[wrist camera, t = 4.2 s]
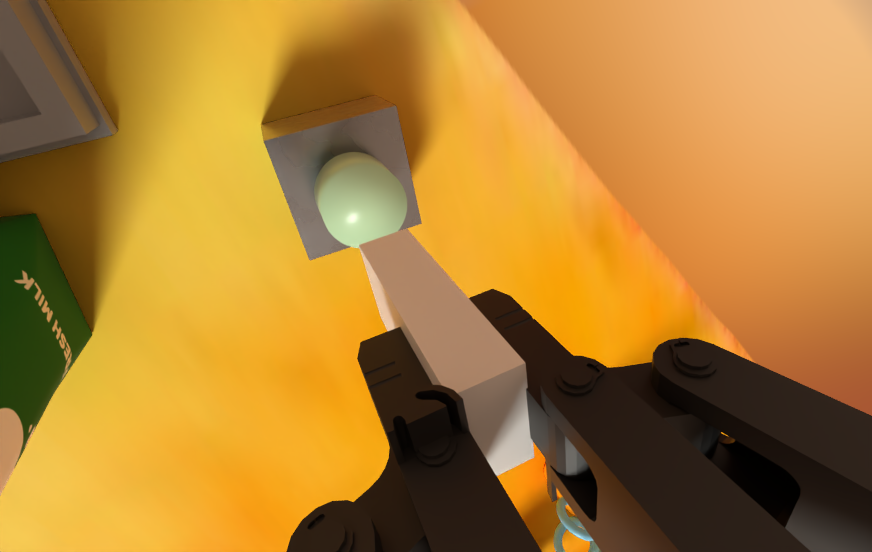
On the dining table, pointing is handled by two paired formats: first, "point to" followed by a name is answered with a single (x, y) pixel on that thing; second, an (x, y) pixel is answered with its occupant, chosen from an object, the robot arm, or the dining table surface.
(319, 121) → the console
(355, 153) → the button
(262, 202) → the dining table surface
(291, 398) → the dining table surface
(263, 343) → the dining table surface
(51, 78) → the pocket tray
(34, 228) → the soya milk
